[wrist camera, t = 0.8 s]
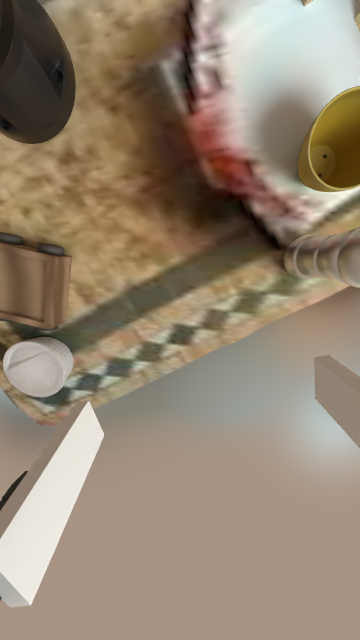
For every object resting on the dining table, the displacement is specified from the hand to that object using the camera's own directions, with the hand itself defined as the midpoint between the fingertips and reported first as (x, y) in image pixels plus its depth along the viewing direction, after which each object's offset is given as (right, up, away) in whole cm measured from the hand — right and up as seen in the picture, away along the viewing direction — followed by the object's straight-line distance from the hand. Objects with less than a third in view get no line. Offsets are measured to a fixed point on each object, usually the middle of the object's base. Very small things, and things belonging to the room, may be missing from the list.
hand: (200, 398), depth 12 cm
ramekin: (-27, -3, +30) cm, 41 cm away
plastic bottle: (+19, +15, +23) cm, 33 cm away
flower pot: (+19, +28, +19) cm, 39 cm away
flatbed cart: (-28, +12, +25) cm, 39 cm away
